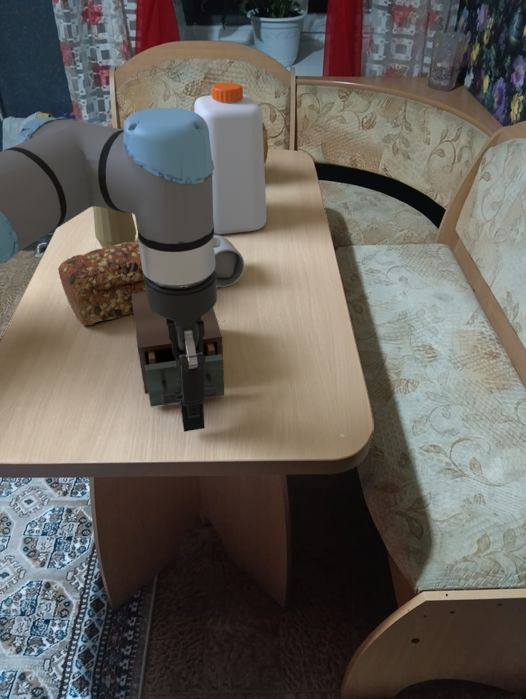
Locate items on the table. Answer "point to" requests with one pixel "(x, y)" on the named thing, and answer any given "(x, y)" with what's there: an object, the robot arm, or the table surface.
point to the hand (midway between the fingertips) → (193, 425)
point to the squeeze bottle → (113, 227)
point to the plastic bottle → (235, 158)
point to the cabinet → (164, 331)
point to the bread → (103, 282)
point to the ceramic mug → (227, 263)
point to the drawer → (166, 377)
